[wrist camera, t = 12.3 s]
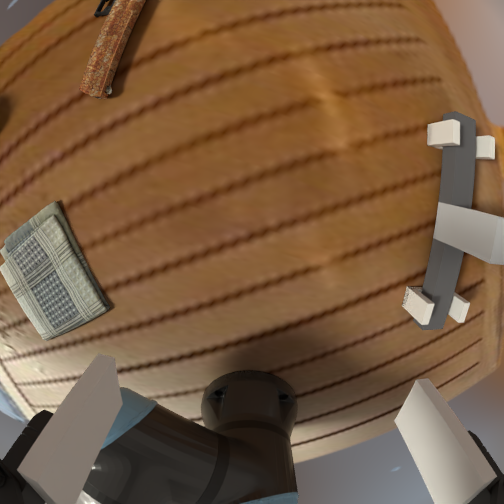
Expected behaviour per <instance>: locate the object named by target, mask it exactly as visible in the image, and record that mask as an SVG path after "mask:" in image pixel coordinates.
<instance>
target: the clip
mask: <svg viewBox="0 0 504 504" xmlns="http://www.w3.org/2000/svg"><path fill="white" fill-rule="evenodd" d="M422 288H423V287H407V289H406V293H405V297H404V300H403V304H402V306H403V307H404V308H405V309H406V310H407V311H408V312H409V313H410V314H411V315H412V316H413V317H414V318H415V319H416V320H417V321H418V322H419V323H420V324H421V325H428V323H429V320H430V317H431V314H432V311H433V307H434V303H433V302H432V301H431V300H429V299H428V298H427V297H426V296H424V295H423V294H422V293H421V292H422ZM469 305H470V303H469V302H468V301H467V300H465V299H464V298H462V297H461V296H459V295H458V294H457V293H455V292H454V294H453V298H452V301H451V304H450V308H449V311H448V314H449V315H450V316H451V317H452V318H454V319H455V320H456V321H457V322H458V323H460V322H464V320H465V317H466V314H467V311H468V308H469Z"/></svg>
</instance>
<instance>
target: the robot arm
mask: <svg viewBox="0 0 504 504" xmlns="http://www.w3.org/2000/svg"><path fill="white" fill-rule="evenodd" d="M201 414H202V418H203V422H204V425H205V427H203V426H201V425H199V424H197V423H195V422H193V421H190V420H188V419H186V418H184V417H182V416H180V415H178V414H176V413H174V412H172V411H170V410H168V409H166V408H165V407H163V406H161V405H159V404H157V402H156V401H155V400H149V399H147V398H145V397H143V396H142V395H140V394H138V393H136V392H134V391H132V390H130V389H128V388H124V387H119V382H118V376H117V370H116V364H115V358H114V357H110V356H106V355H103V354H98V355H97V356H96V358H95V359H94V360H93V361H92V363H91V364H90V365H89V367H88V368H87V369H86V371H85V372H84V373H83V375H82V376H81V377H80V379H79V380H78V381H77V383H76V384H75V385H74V387H73V388H72V389H71V391H70V392H69V394H68V395H67V396H66V398H65V399H64V400H63V402H62V403H61V405H60V406H59V408H58V409H57V410H56V412H55V413H54V414H53V413H51V412H49V411H46V410H43V411H41V412H40V413H38V414H36V415H35V416H34V417H33V418H32V419H31V421H30V422H29V423H28V425H27V427H26V428H25V429H24V430H23V432H22V434H21V435H20V436H19V437H18V439H17V440H16V441H15V443H14V444H13V446H12V447H11V449H10V450H9V452H8V453H7V454H6V456H5V457H4V459H3V460H1V459H0V504H45V502H46V503H47V504H298V501H297V498H298V496H299V495H298V491H297V485H296V477H295V470H294V463H293V457H292V450H291V443H290V437H291V433H292V430H293V427H294V423H295V420H296V417H297V401H296V396H295V393H294V391H293V390H292V388H291V387H290V386H289V385H288V384H287V383H286V382H285V381H283V380H282V379H280V378H278V377H276V376H274V375H271V374H268V373H264V372H259V371H239V372H233V373H229V374H226V375H224V376H221V377H219V378H217V379H216V380H214V381H213V382H212V383H211V384H210V385H209V386H208V387H207V388H206V390H205V392H204V394H203V399H202V404H201ZM394 421H395V423H396V425H397V427H398V429H399V431H400V433H401V434H402V437H403V439H404V441H405V443H406V445H407V447H408V449H409V451H410V453H411V455H412V457H413V459H414V461H415V463H416V465H417V467H418V469H419V471H420V473H421V475H422V477H423V480H424V482H425V484H426V486H427V488H428V490H429V492H430V495H431V497H432V499H433V501H434V503H435V504H504V474H503V473H502V472H501V471H500V469H499V468H498V466H497V464H496V463H495V461H494V460H493V458H492V457H491V456H490V454H489V453H488V452H487V450H486V448H485V447H484V446H483V444H482V443H481V441H480V439H479V438H478V437H477V436H476V435H475V434H473V433H472V432H471V431H467V430H466V429H465V428H464V426H463V425H462V423H461V422H460V420H459V419H458V418H457V416H456V415H455V414H454V412H453V411H452V409H451V408H450V407H449V405H448V404H447V402H446V401H445V400H444V398H443V397H442V396H441V394H440V393H439V392H438V390H437V389H436V388H435V386H434V385H433V384H432V383H431V381H430V380H429V379H428V378H427V379H418V380H416V381H415V383H414V385H413V387H412V389H411V391H410V393H409V395H408V397H407V399H406V401H405V403H404V404H403V406H402V408H401V410H400V412H399V413H398V415H397V417H396V419H395V420H394Z"/></svg>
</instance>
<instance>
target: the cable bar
mask: <svg viewBox="0 0 504 504" xmlns="http://www.w3.org/2000/svg"><path fill="white" fill-rule="evenodd" d="M451 119H454V120H456V121H459V122H460V145H454V146H443V156H442V172H441V184H440V194H439V202H438V210H437V217H436V224H435V230H434V236H433V242H432V247H431V252H430V257H429V262H428V267H427V271H426V275H425V280H424V284H423V288H422V292H421V293H422V294H423V295H424V296H426V297H427V298H428V299H429V300H431V301H432V302H433V303H434V307H433V311H432V314H431V317H430V320H429V323H428V325H421V324H420V323H419V322H418V321H417V320H416V319H415V318H414V320H413V321H414V322H415V323H416V324H417V325H418V326H419V327H420V328H421V329H422V330H433V329H443V326H444V323H445V320H446V317H447V314H448V311H449V308H450V304H451V301H452V298H453V294H454V291H455V287H456V283H457V279H458V276H459V271H460V267H461V263H462V258H463V254H464V252H466V253H468V254H471V255H473V256H475V257H477V258H479V259H481V260H483V261H486V262H488V263H490V264H501V265H504V218H502V217H499V216H495V215H491V214H487V213H484V212H480V211H476V210H471V206H472V197H473V187H474V174H475V154H476V121H475V120H474V119H472V118H470V117H467V116H465V115H463V114H461V113H458V112H456V111H455V112H451V113H446V114H443V121H446V120H451Z"/></svg>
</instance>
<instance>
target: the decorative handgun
mask: <svg viewBox="0 0 504 504" xmlns="http://www.w3.org/2000/svg"><path fill="white" fill-rule="evenodd" d="M107 1H109V0H101V2H100V4H99V6H98V8H97V10H96V12H95V14H94V15H95V17H99V16H102V15H108V16H107V18H106V20H105V22H104V24H103V26H102V28H101V31H100V34H99V35H98V38H97V41H96V43H95V46H94V48H93V50H92V53H91V55H90V58H89V61H88V63H87V67H86V69H85V72H84V76H83V79H82V82H81V85H80V88H79V90H81V91H83V92H85V93H86V94H88V95H90V96H93V97H95V98H98V99H107V97H108V94H111V93H112V88H111V84H112V81H113V78H114V75H115V72H116V69H117V67H118V64H119V61H120V58H121V56H122V53H123V51H124V48H125V45H126V43H127V41H128V38H129V36H130V33H131V31H132V29H133V27H134V24H135V22H136V20H137V18H138V16H139V14H140V12H141V9H142V7H143V5H144V3H145V1H146V0H114V1H113V3H112V5H111V6H108V7H106V8H105V9H104V11H102V12H101V10H102V8H103V6H104V4H105V2H107Z"/></svg>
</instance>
